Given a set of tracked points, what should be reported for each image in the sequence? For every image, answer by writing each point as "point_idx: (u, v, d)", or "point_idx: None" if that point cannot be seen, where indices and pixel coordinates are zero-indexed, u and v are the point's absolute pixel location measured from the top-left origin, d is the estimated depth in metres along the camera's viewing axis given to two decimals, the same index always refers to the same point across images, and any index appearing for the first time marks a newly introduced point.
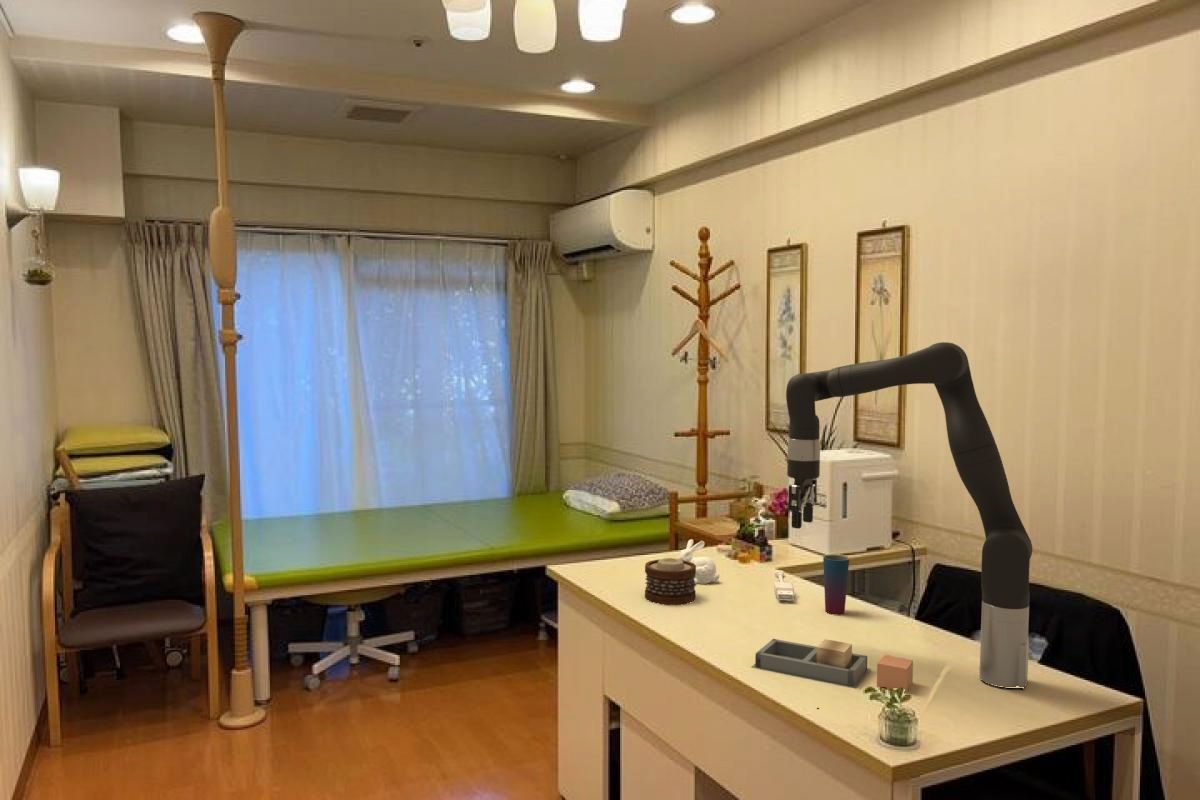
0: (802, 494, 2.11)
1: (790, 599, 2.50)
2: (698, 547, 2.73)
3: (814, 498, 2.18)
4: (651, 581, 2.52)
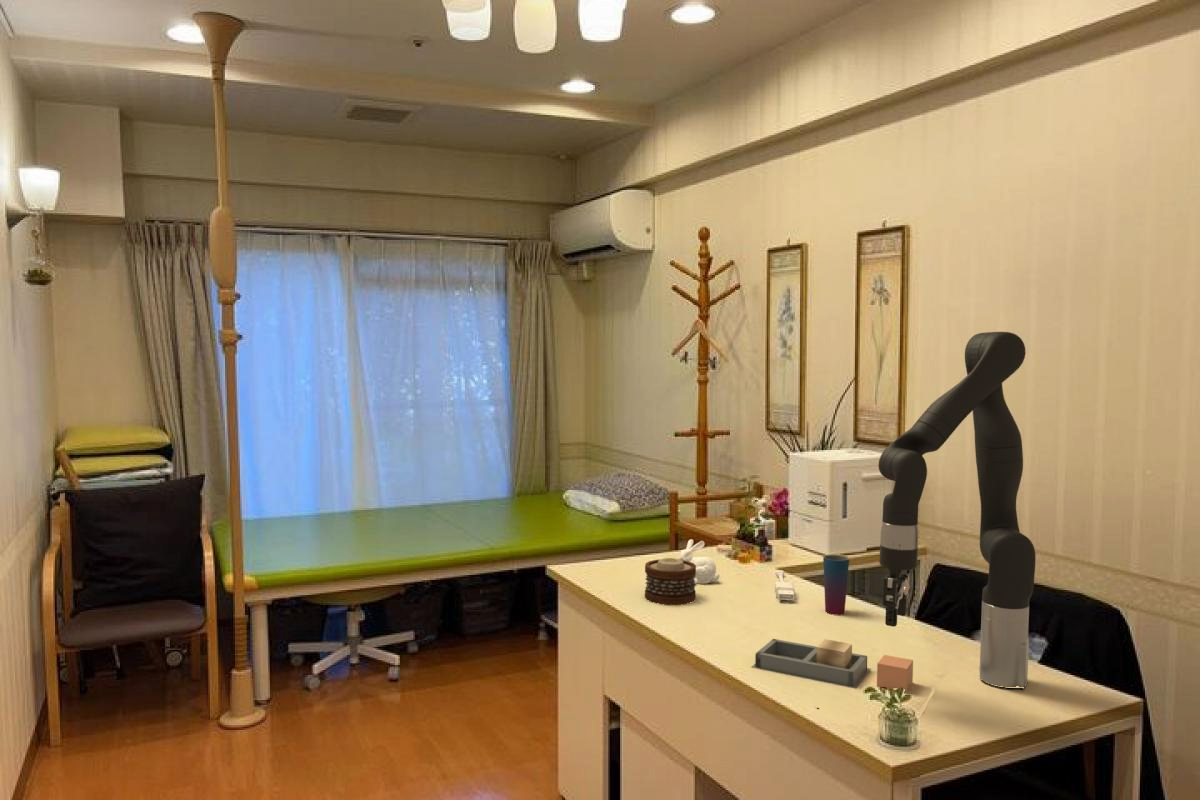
0: (898, 587, 1.85)
1: (791, 599, 2.50)
2: (698, 547, 2.73)
3: None
4: (651, 581, 2.52)
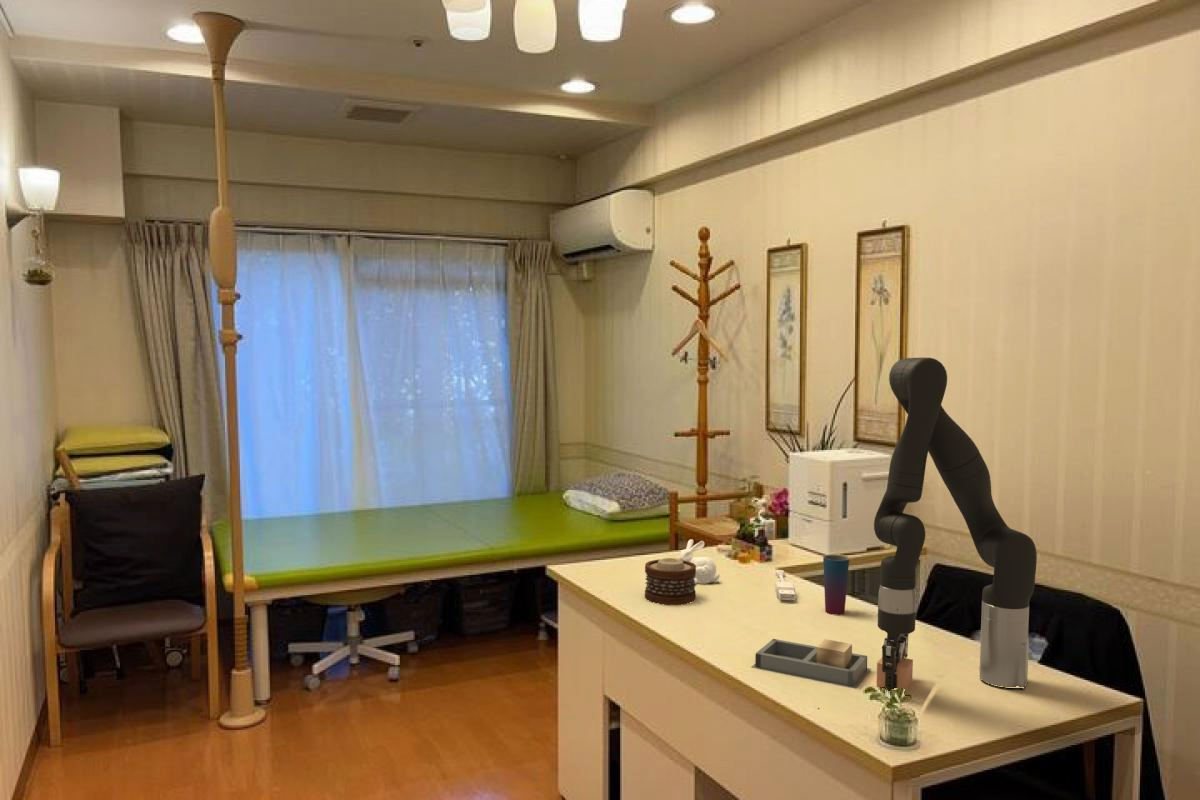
0: (896, 652, 1.86)
1: (791, 598, 2.50)
2: (698, 547, 2.73)
3: None
4: (651, 581, 2.52)
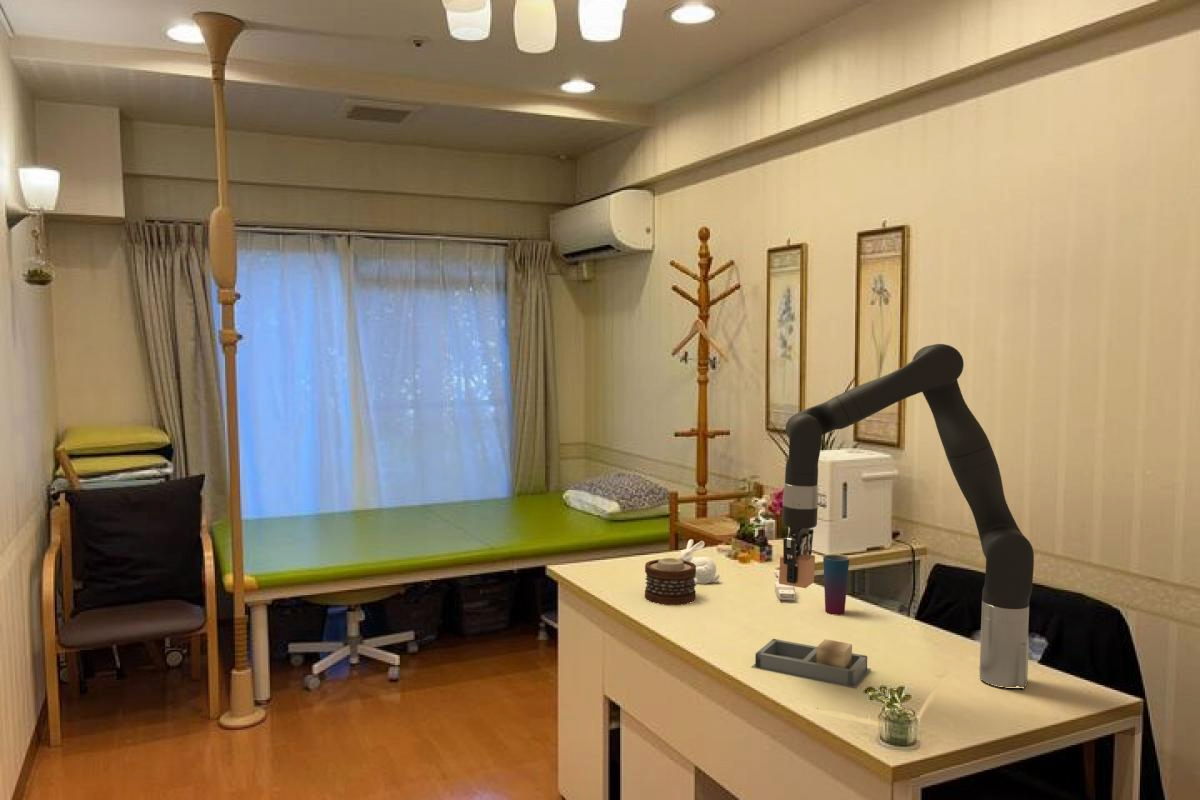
0: (798, 546, 1.95)
1: (791, 598, 2.51)
2: (698, 547, 2.73)
3: (809, 550, 2.02)
4: (651, 581, 2.52)
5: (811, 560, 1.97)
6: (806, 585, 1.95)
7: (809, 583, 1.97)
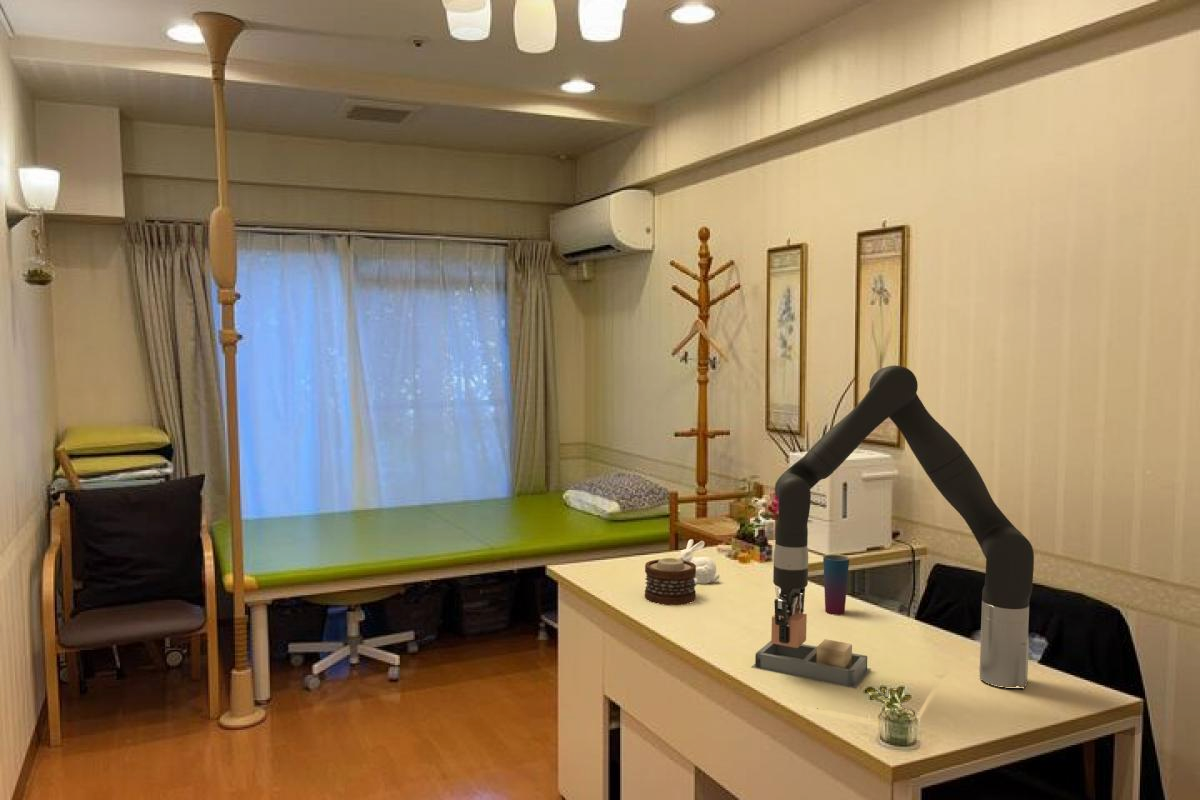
0: (789, 606, 1.97)
1: None
2: (698, 547, 2.73)
3: (801, 608, 2.04)
4: (651, 581, 2.52)
5: (803, 619, 1.99)
6: (798, 645, 1.97)
7: (801, 642, 1.99)
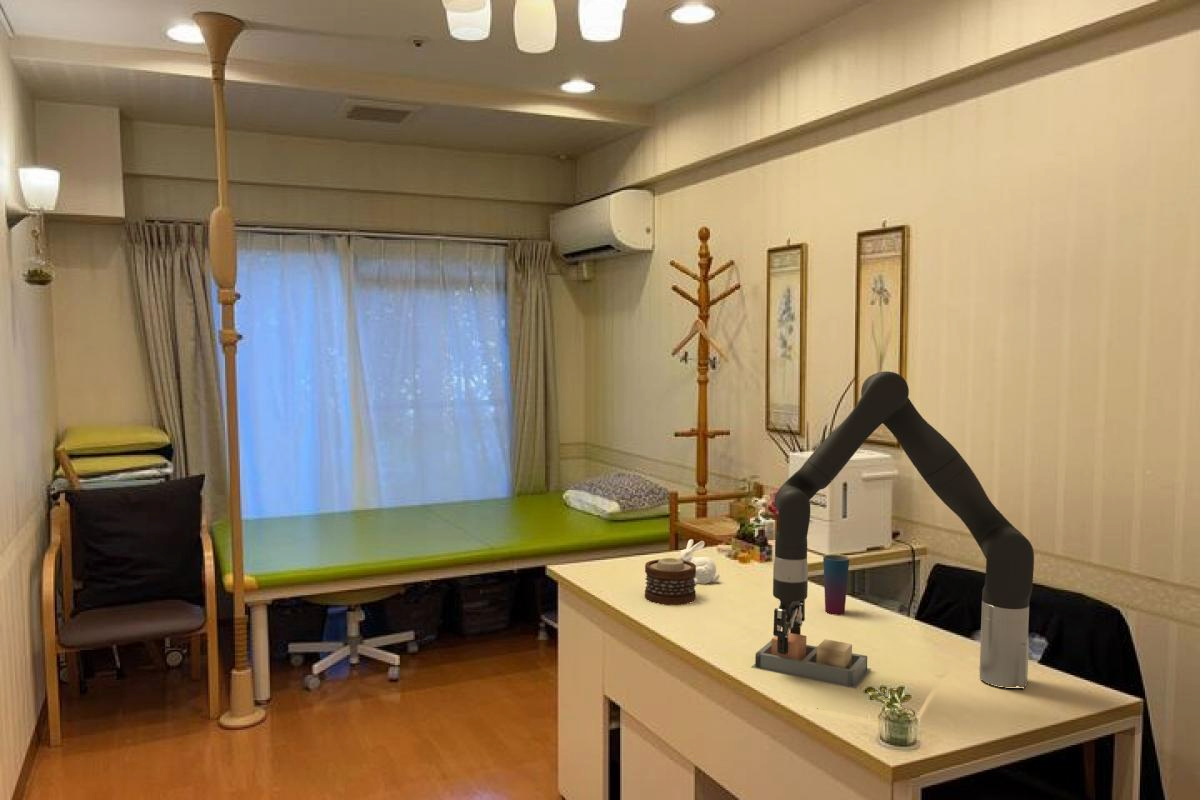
0: (789, 617, 1.97)
1: None
2: (698, 547, 2.73)
3: (802, 617, 2.05)
4: (651, 581, 2.52)
5: (802, 641, 1.99)
6: None
7: None
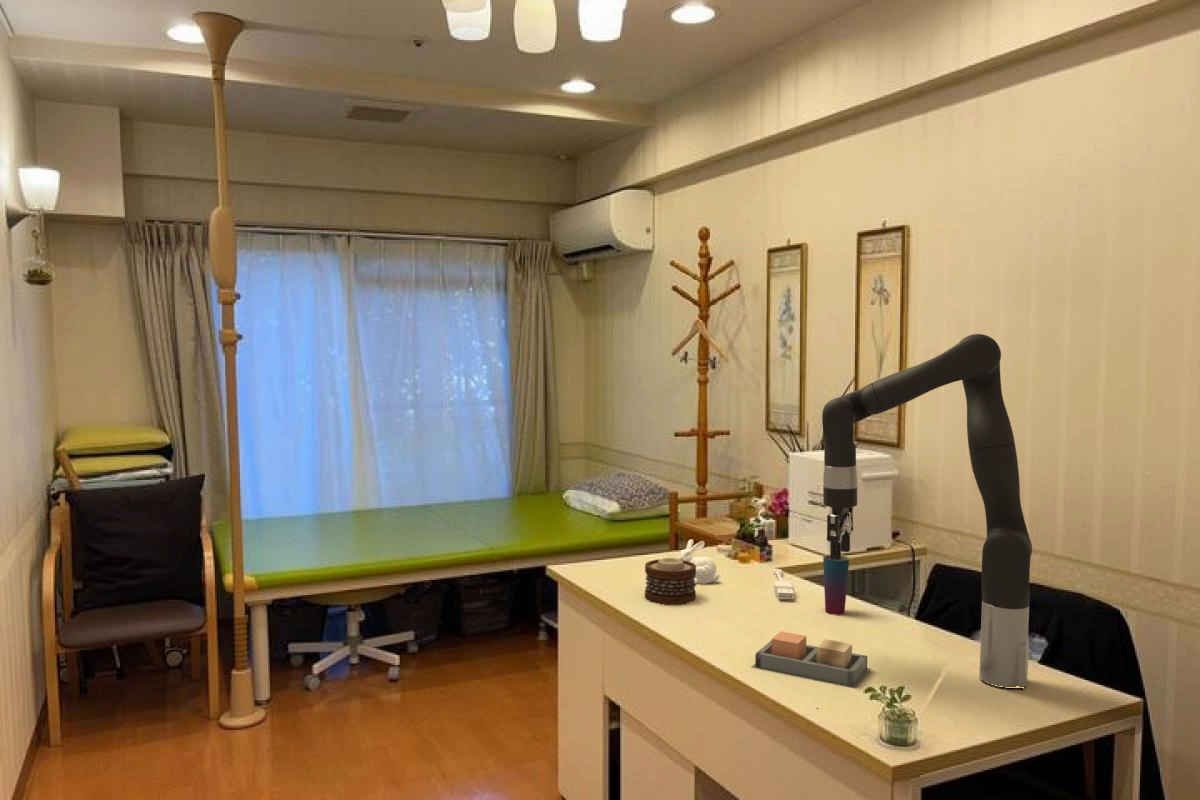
0: (840, 523, 2.02)
1: (790, 597, 2.51)
2: (698, 547, 2.73)
3: (851, 526, 2.10)
4: (651, 581, 2.52)
5: (802, 641, 1.99)
6: None
7: None
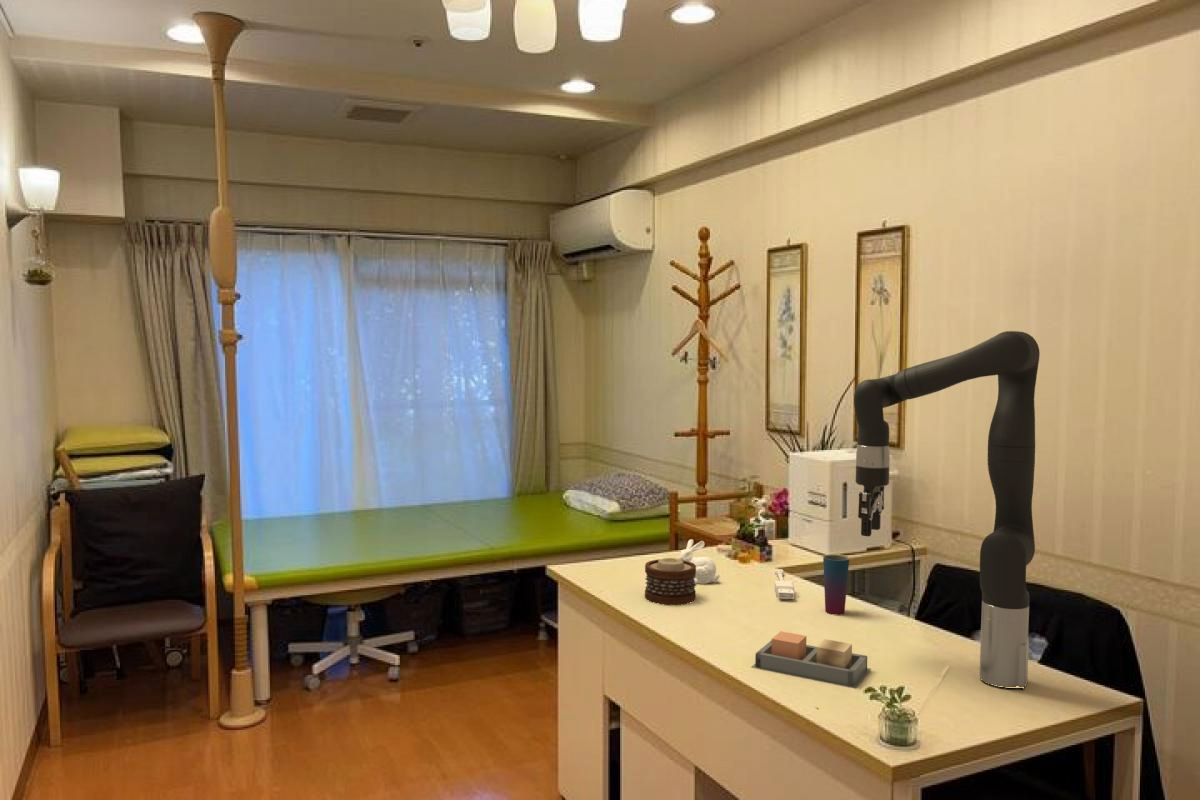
0: (872, 501, 2.08)
1: (791, 597, 2.52)
2: (698, 547, 2.73)
3: (881, 505, 2.15)
4: (651, 581, 2.52)
5: (802, 641, 1.99)
6: None
7: None
